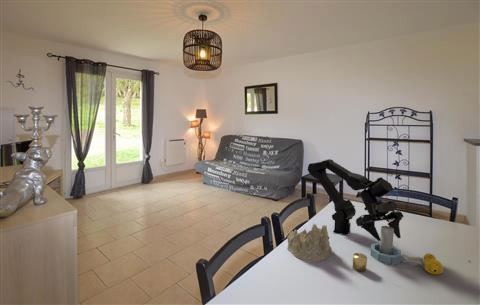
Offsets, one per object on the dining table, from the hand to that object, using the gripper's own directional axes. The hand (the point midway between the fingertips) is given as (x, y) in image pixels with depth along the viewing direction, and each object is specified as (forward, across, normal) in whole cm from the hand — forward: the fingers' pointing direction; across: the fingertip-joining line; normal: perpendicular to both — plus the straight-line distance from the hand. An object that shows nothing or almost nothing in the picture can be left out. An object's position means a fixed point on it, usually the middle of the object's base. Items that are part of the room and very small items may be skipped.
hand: (389, 239), depth 99 cm
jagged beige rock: (-3, -27, +15) cm, 31 cm away
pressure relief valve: (+12, +7, 0) cm, 13 cm away
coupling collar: (+5, 0, +7) cm, 8 cm away
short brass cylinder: (+8, -16, +4) cm, 18 cm away
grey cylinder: (+5, 0, +7) cm, 8 cm away
